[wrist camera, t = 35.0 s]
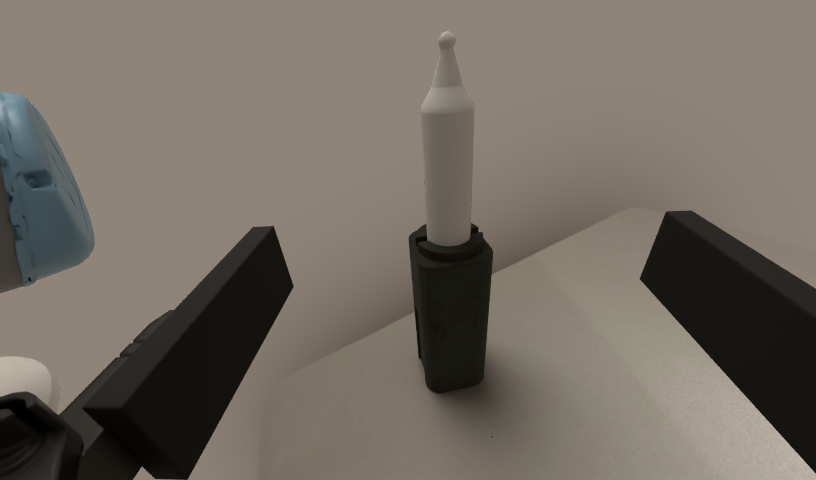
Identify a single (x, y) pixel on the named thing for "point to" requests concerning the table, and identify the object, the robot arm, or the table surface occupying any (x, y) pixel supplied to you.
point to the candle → (450, 239)
